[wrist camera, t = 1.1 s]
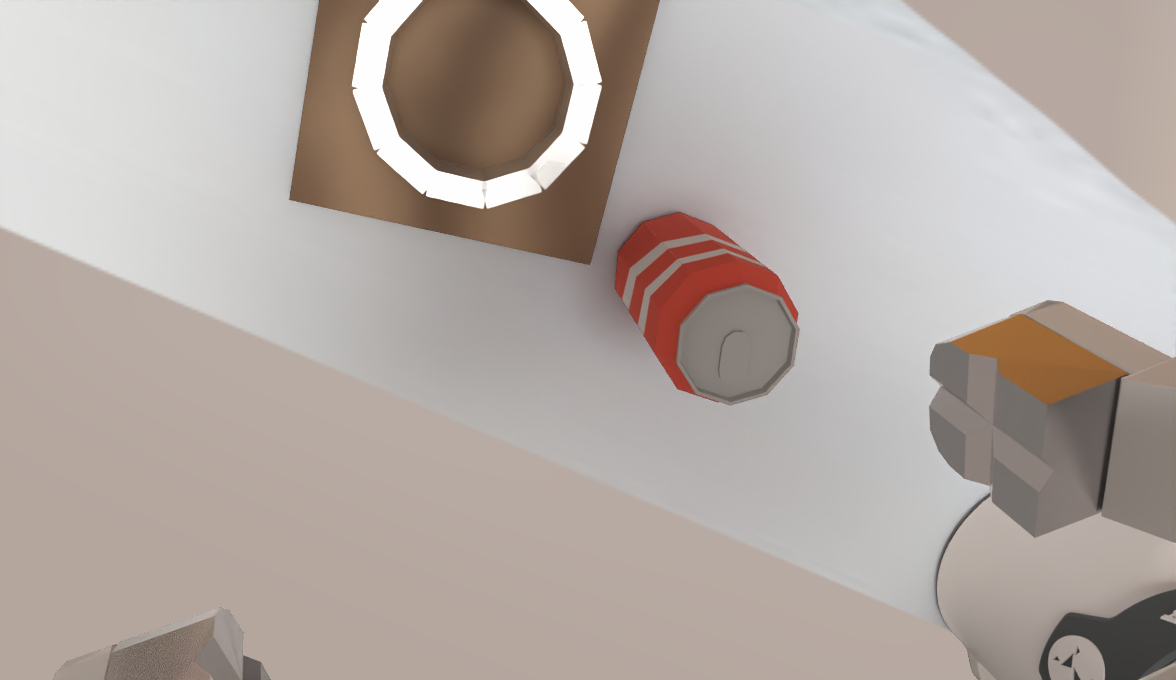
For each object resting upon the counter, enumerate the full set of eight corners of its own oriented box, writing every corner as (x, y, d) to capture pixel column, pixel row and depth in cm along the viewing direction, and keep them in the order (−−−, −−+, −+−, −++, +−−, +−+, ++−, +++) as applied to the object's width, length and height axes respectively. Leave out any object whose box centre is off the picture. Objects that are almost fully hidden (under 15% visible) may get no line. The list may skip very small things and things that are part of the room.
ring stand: (665, -41, 41) (670, -42, 40) (587, 259, 46) (589, 264, 45) (343, -138, 38) (340, -142, 37) (292, 195, 42) (289, 199, 41)
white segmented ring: (610, -4, 40) (624, -6, 37) (557, 212, 43) (566, 227, 40) (385, -69, 38) (379, -78, 35) (346, 163, 41) (337, 175, 38)
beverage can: (609, 323, 47) (657, 417, 36) (619, 206, 45) (674, 268, 34) (717, 326, 48) (797, 418, 37) (732, 212, 46) (821, 273, 35)
